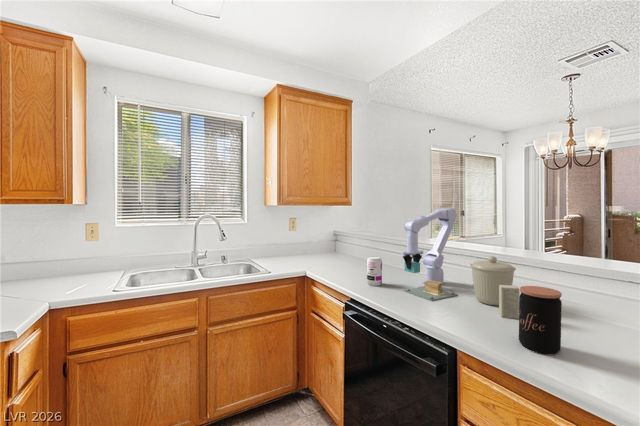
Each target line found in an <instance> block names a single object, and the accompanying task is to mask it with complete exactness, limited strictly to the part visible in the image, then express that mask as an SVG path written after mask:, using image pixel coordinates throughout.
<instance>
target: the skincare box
mask: <svg viewBox="0 0 640 426" xmlns="http://www.w3.org/2000/svg"><path fill="white" fill-rule="evenodd" d="M519 296H520V287H518V286H517V285H514V284H512V285H499V306H498V314H499V316H500V317H501V318H506V319H516V320H519Z"/></svg>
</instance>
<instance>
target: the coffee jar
mask: <svg viewBox="0 0 640 426" xmlns="http://www.w3.org/2000/svg"><path fill="white" fill-rule="evenodd" d="M519 292H520V293H519V319H518V341H519V343H520V345H521V346H522V347H523V348H524V347H525V348H524V349H526V348H527V350H528V351H530V350H531V351H530V352H533V351H534V352H533V353H536V352H537V354H540V353H541V354H540V355H546V354H553V355H557V354H558V353H559V352H560V351H561V349H562V348H561V347H562V346H561V345H562V308H563V307H562V305H563V304H562V300H561V299H560V298H562V295H563V294H562V292H561V291H559V290H557V289H554V288H550V287H546V286H545V287H544V286H537V285H536V286H535V285H523V286H520V287H519Z"/></svg>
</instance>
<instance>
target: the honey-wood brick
mask: <svg viewBox="0 0 640 426" xmlns="http://www.w3.org/2000/svg"><path fill="white" fill-rule="evenodd" d="M424 281H425V283H424V286H425V292H429V293H434V294H441V293H442V290H443V285H444V284H443V283H441V282H436V281H431V280H428V281H426V280H424Z"/></svg>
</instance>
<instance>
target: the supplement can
mask: <svg viewBox="0 0 640 426" xmlns="http://www.w3.org/2000/svg"><path fill="white" fill-rule="evenodd" d="M366 283H367V285H368V286H371V287H379V286H381V285H382V284H383V260H382V258H381V257H380V256H368V257H367V260H366Z"/></svg>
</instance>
